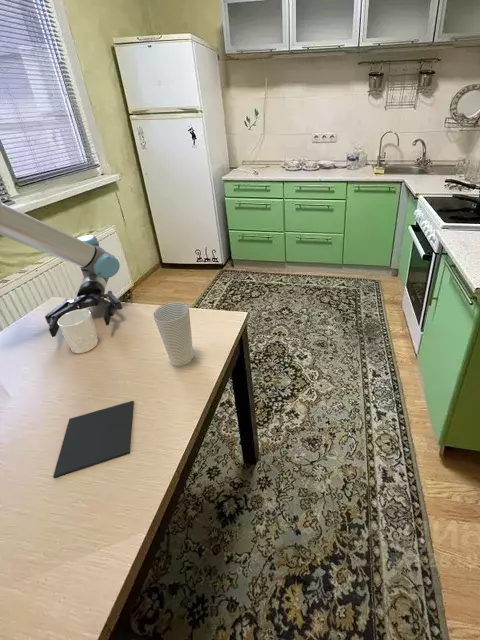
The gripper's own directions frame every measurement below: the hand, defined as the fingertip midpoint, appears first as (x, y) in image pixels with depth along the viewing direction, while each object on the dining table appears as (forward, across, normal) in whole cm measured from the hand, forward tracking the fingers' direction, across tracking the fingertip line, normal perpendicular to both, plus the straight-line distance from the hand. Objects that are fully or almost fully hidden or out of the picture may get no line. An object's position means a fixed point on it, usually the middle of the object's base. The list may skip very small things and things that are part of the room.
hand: (79, 327), depth 91 cm
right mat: (+34, -8, -6) cm, 35 cm away
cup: (+17, -26, -6) cm, 32 cm away
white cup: (+1, 0, -6) cm, 6 cm away
